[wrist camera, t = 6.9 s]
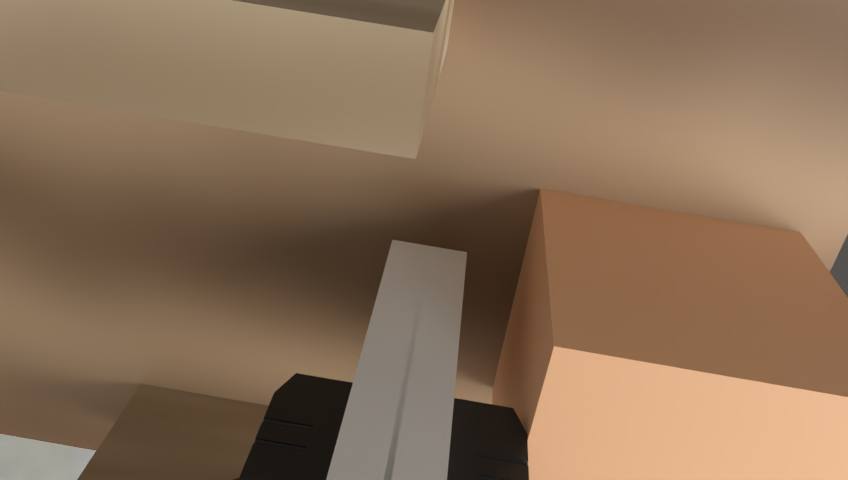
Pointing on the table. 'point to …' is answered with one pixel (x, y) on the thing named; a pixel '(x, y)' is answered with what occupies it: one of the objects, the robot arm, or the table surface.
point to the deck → (354, 182)
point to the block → (674, 348)
